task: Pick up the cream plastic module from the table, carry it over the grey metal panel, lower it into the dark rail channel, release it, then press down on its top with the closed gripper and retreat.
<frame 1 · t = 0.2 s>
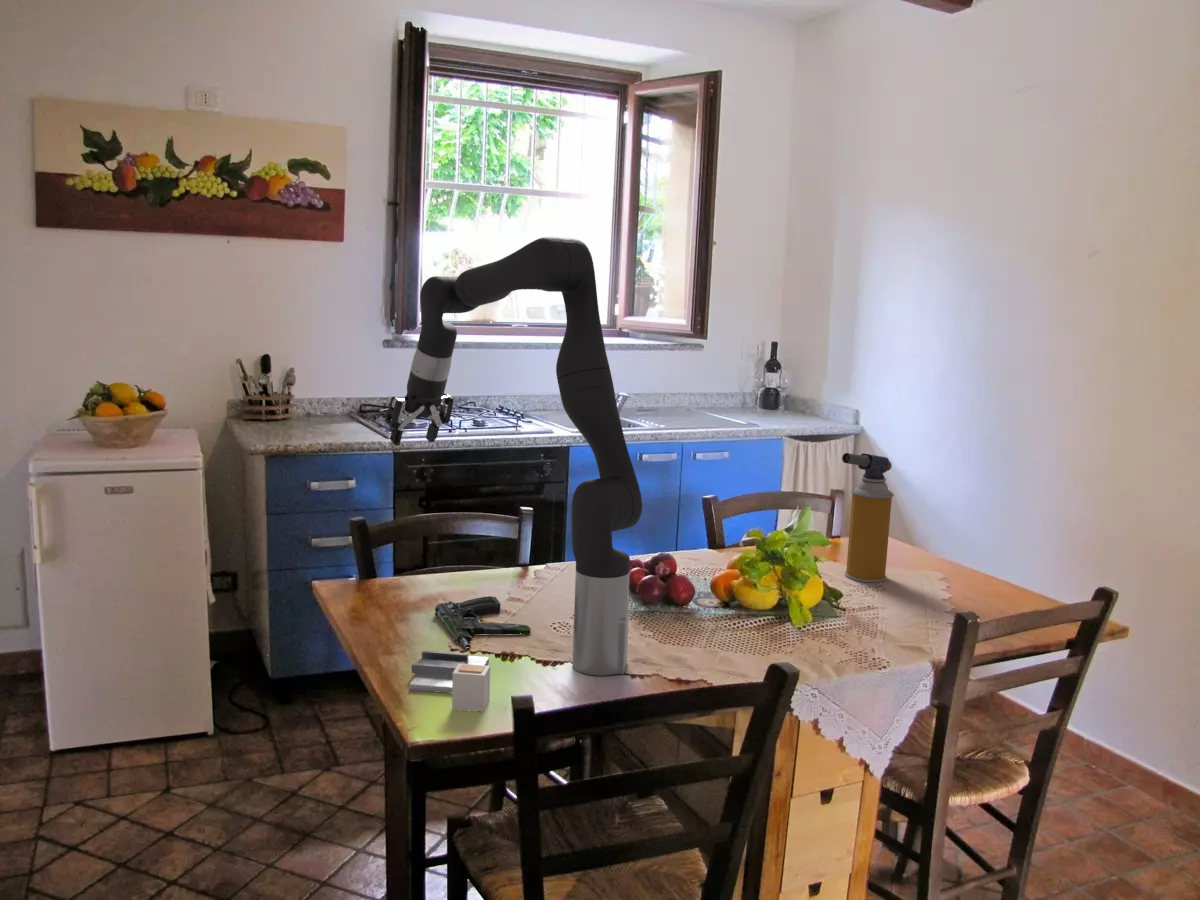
hand: (412, 442, 213), 31 cm above the table, tool tilted 20°, fingers open, 8 cm apart
blowtorch: (857, 579, 238), on the table
pistol: (482, 629, 197), on the table
rail panel: (450, 675, 173), on the table
module: (470, 705, 161), on the table
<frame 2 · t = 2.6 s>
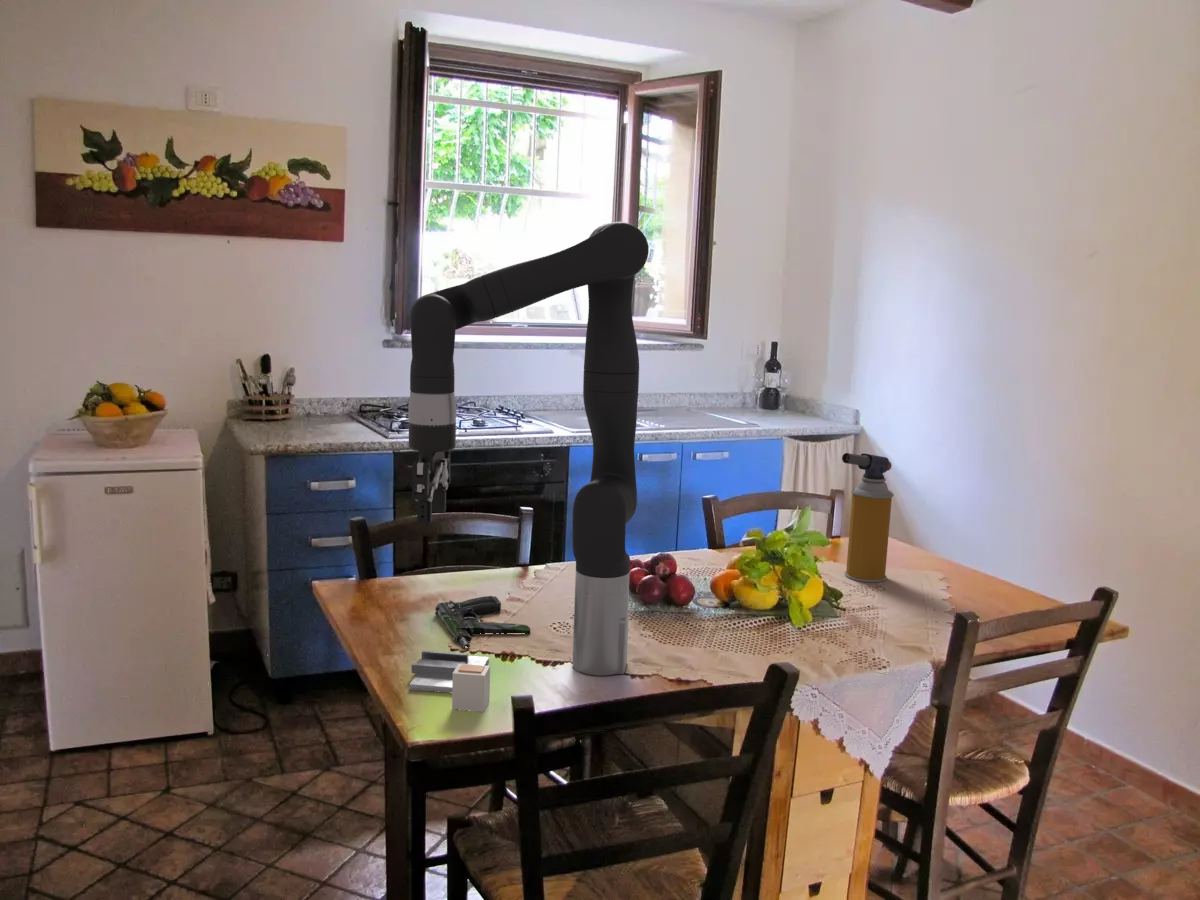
hand: (431, 517, 169), 27 cm above the table, tool pointing down, fingers open, 8 cm apart
nothing on the table moved.
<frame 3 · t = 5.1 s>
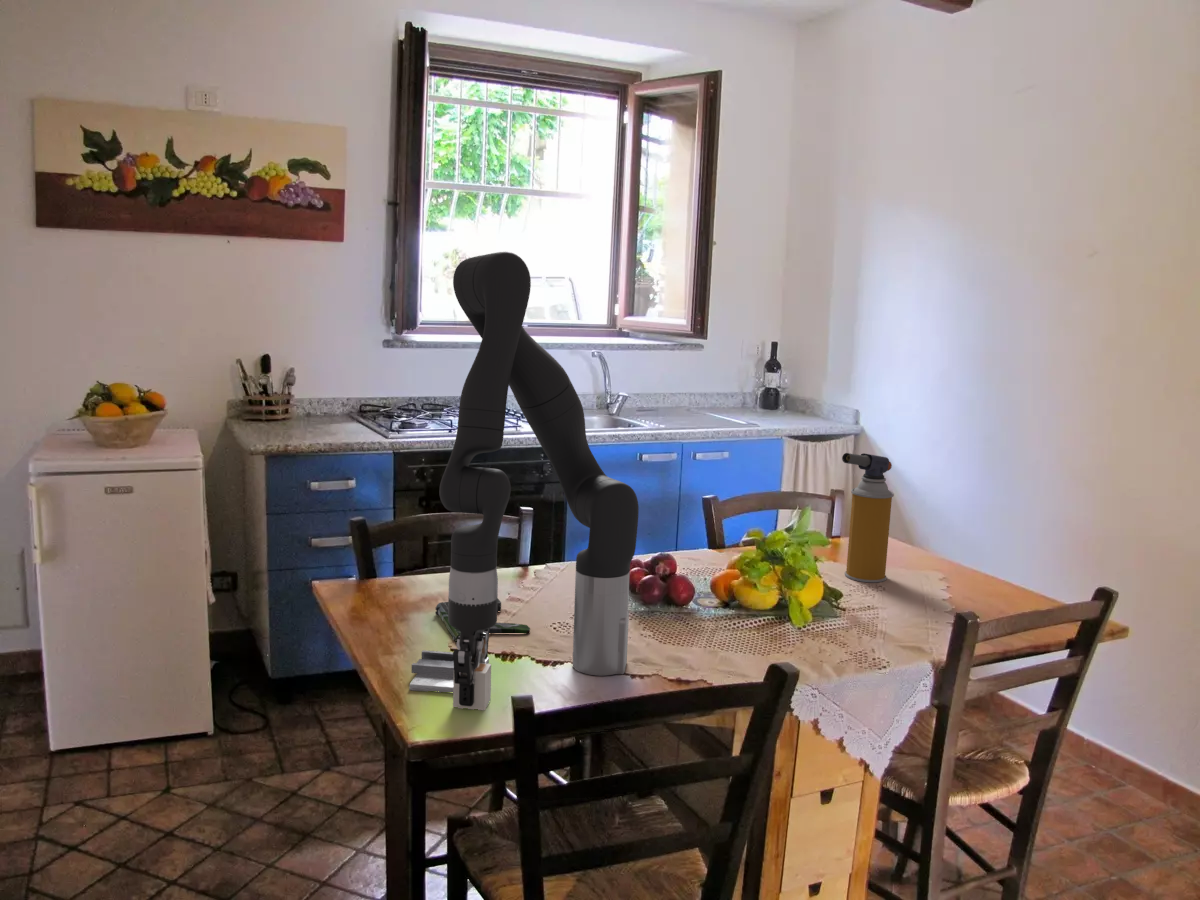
hand: (471, 696, 162), 1 cm above the table, tool pointing down, fingers open, 5 cm apart
module: (472, 703, 162), on the table, touching gripper
everything else where it was.
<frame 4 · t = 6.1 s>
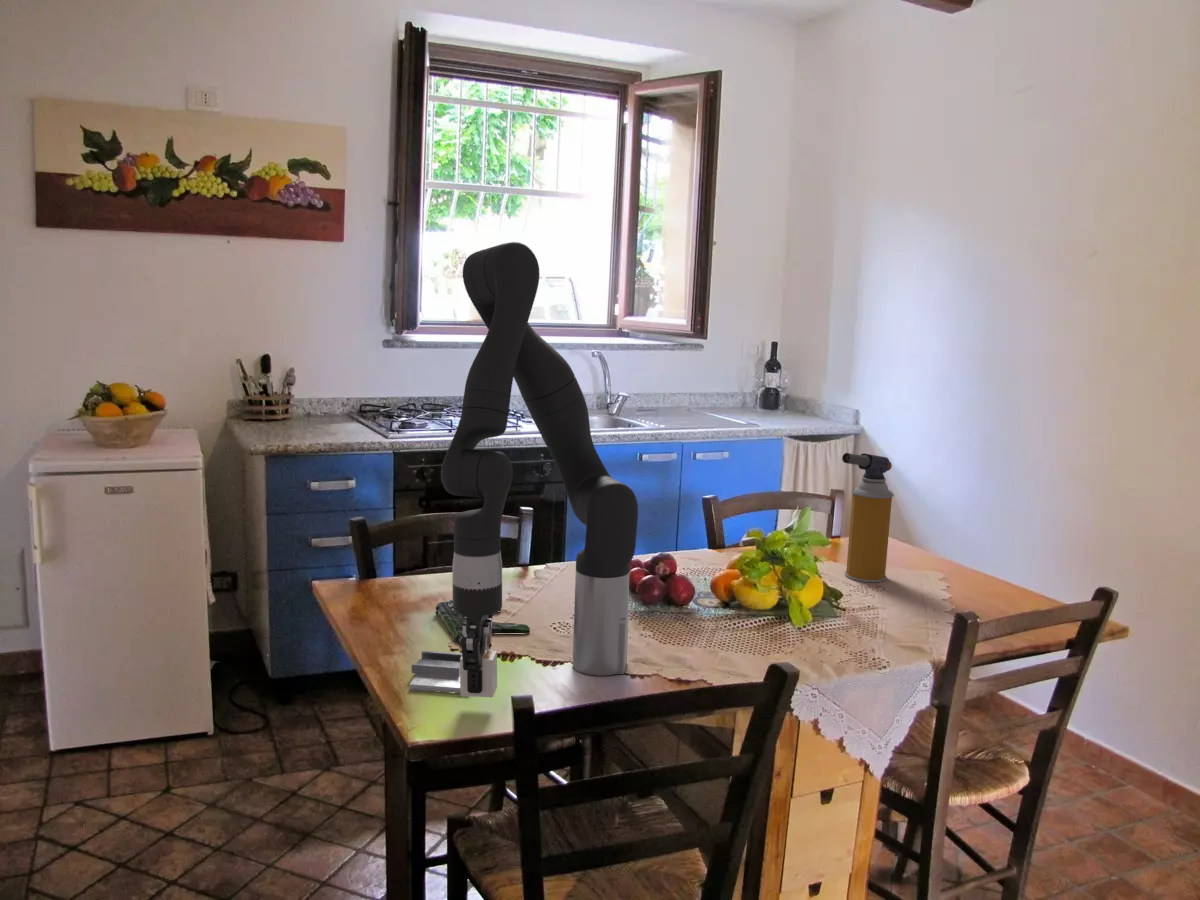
hand: (477, 685, 160), 4 cm above the table, tool pointing down, fingers closed on module, 4 cm apart
module: (478, 691, 160), point 3 cm above the table, touching gripper
everything else where it was.
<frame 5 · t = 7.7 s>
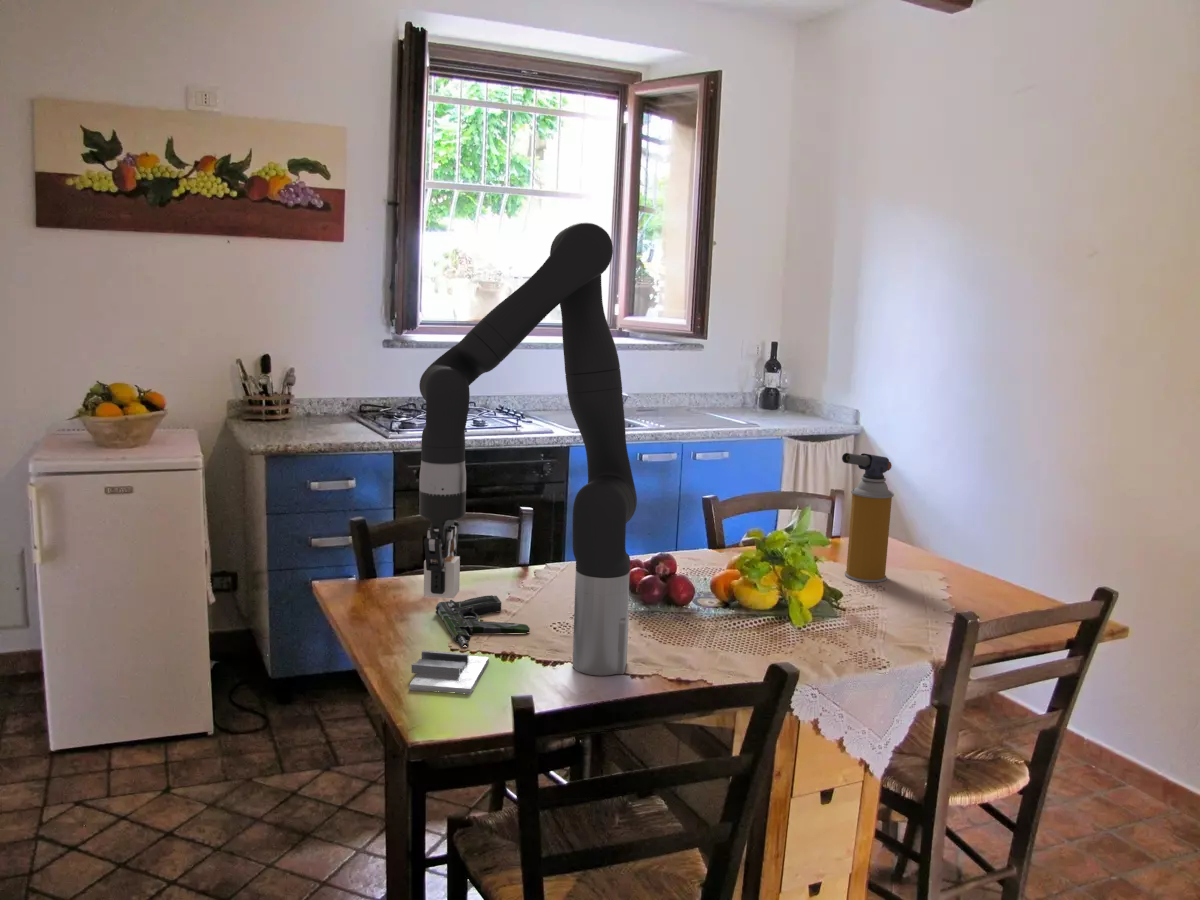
hand: (441, 588, 171), 15 cm above the table, tool pointing down, fingers closed on module, 4 cm apart
module: (441, 593, 172), point 14 cm above the table, touching gripper
everything else where it was.
when the fingers open (3 cm above the table, at t = 9.6 s): module stays where it is, resting on rail panel.
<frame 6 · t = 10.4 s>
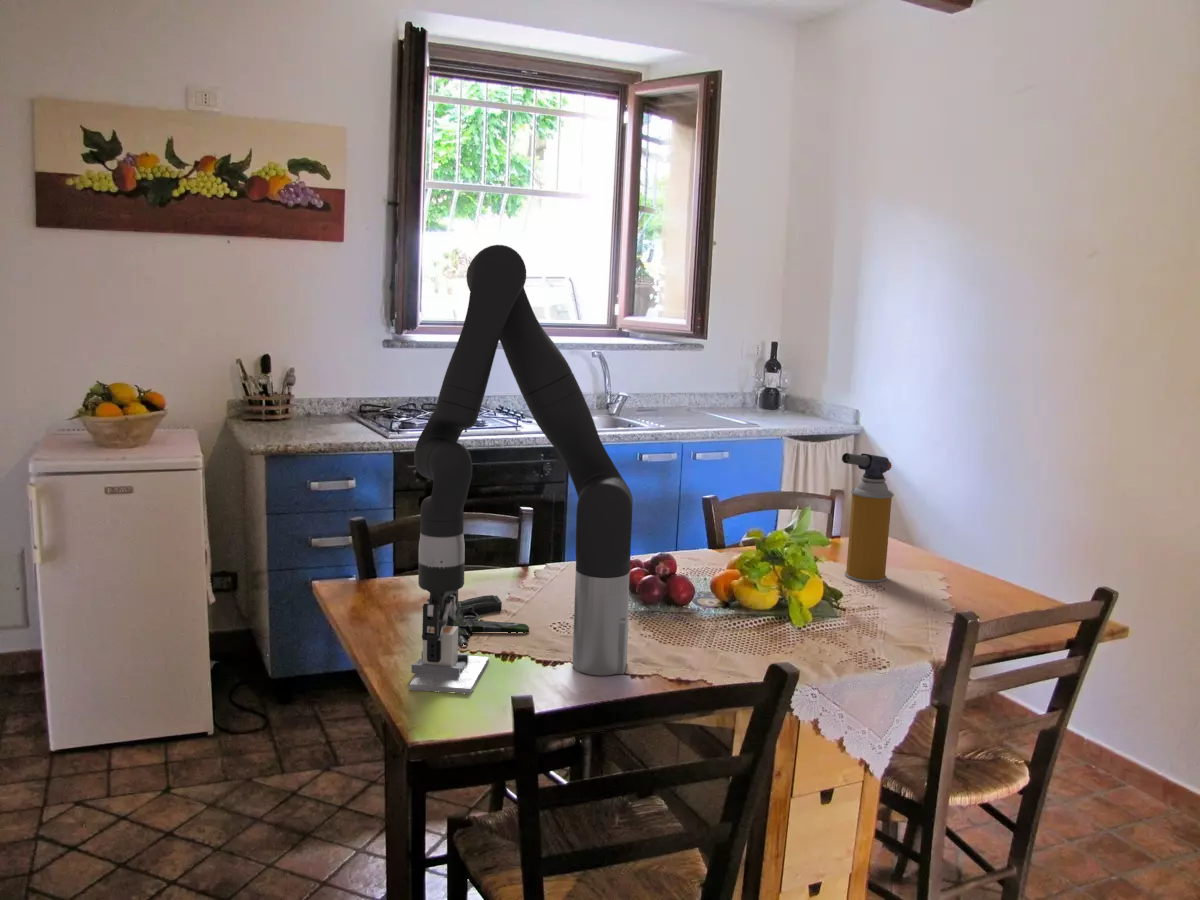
hand: (440, 652, 173), 4 cm above the table, tool pointing down, fingers open, 8 cm apart
module: (440, 663, 174), point 2 cm above the table, touching rail panel
everything else where it was.
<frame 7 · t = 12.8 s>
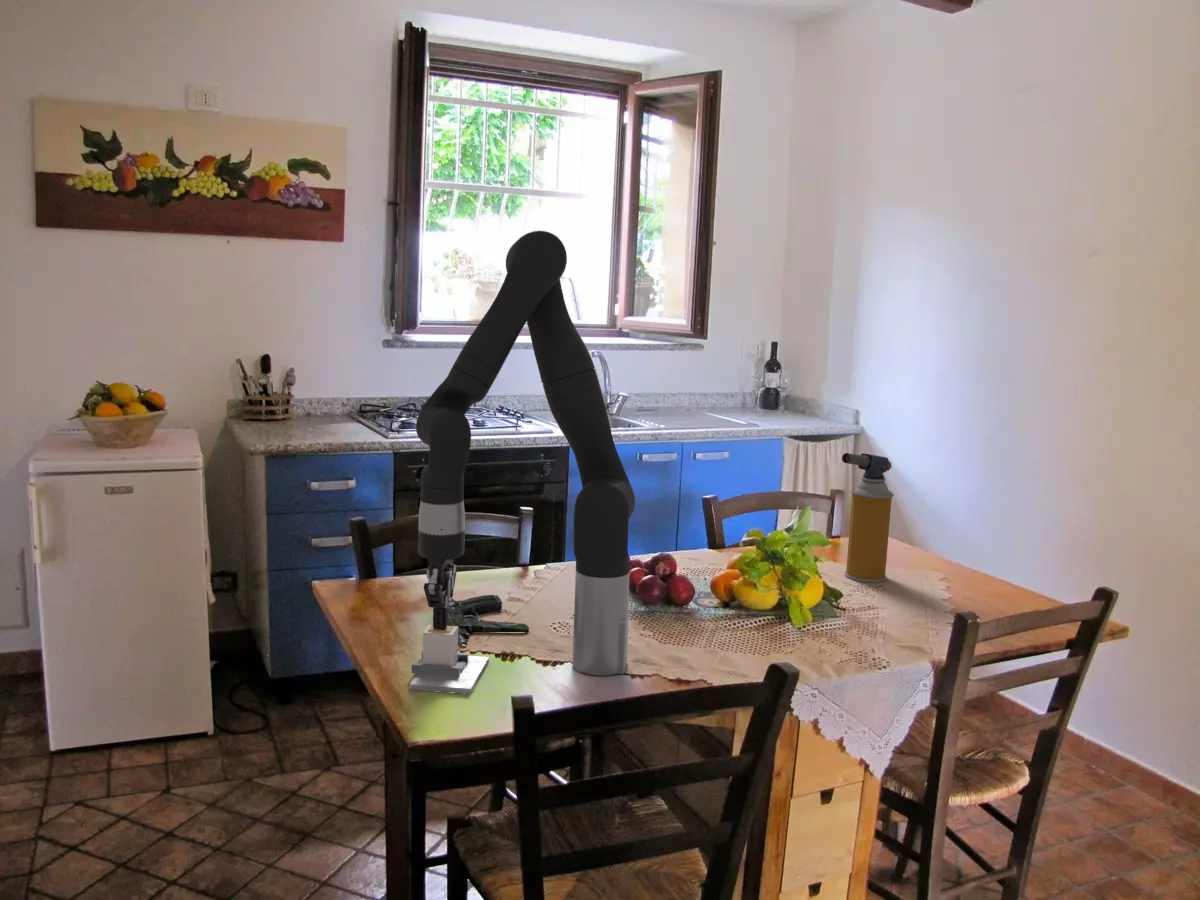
hand: (440, 627, 173), 8 cm above the table, tool pointing down, fingers closed
module: (440, 663, 174), point 2 cm above the table, touching gripper, rail panel
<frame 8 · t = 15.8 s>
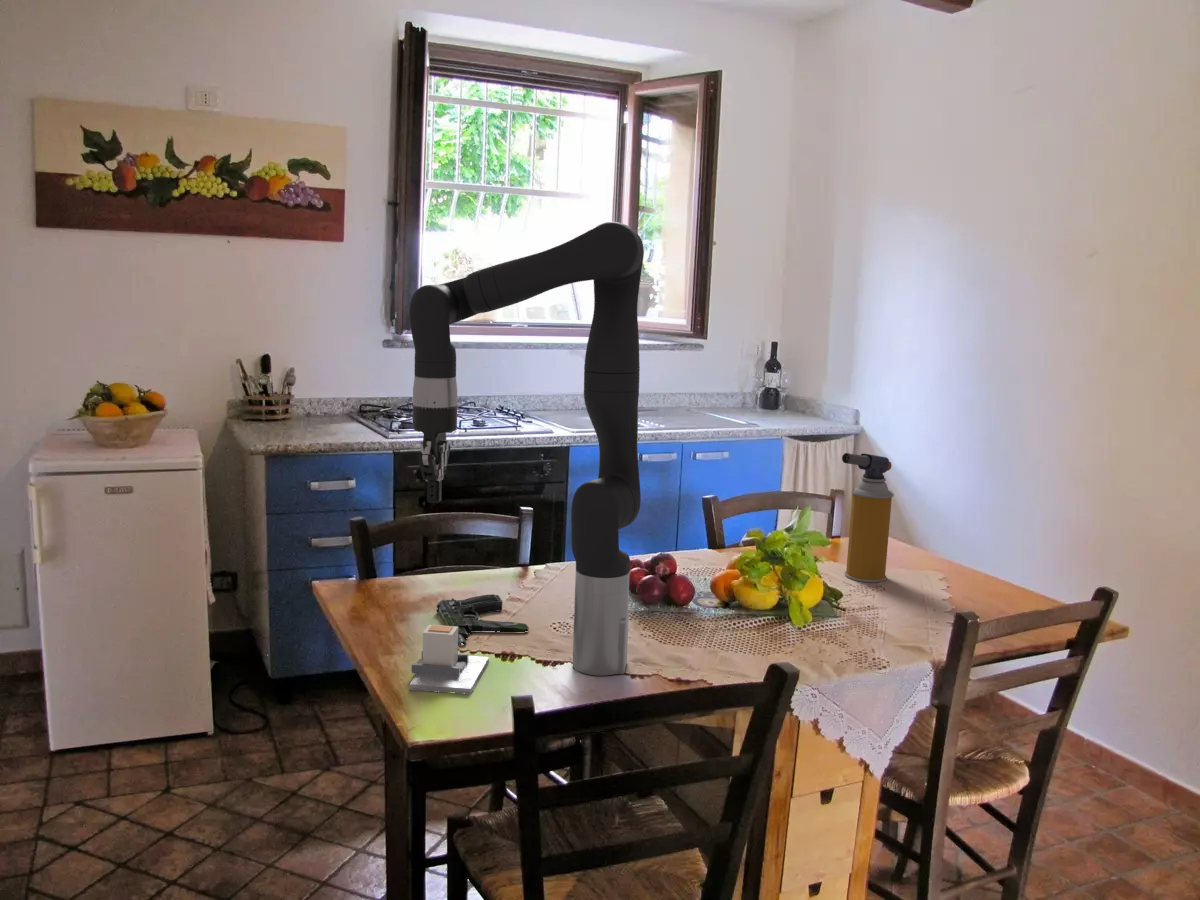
hand: (434, 501, 180), 27 cm above the table, tool pointing down, fingers closed
module: (440, 663, 174), point 2 cm above the table, touching rail panel
at the end: module 0.0 cm from the target spot on the rail panel, point 1.6 cm above the rail panel's base; module tilted 0°; the gripper is holding nothing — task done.
